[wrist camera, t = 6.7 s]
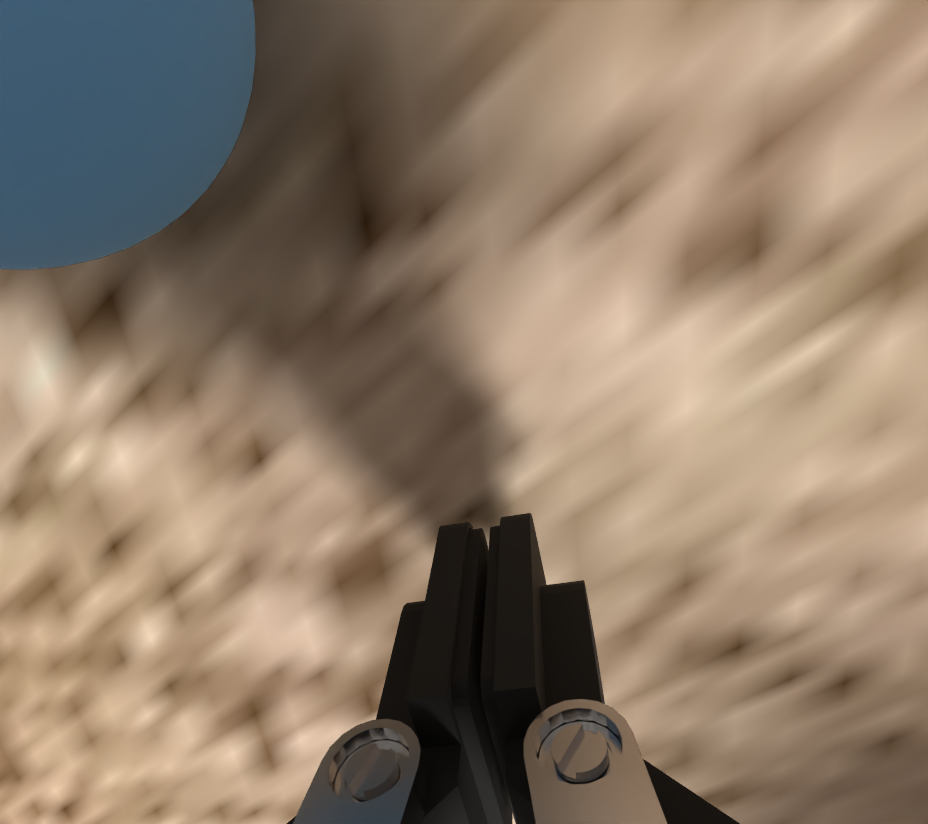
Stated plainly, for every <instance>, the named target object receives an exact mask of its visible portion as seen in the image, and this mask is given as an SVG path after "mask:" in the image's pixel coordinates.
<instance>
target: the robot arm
mask: <svg viewBox="0 0 928 824" xmlns="http://www.w3.org/2000/svg"><path fill="white" fill-rule="evenodd" d="M512 812H513V815H514V819H515V822H516V824H739V823H738V822H736V821H735V820H733V819H732V818H731V817H729V816H728V815H726V814H725V813H723V812H722V811H720V810H719V809H717V808H716V807H714V806H713V805H711V804H710V803H708V802H707V801H705V800H704V799H702V798H701V797H699V796H698V795H696V794H695V793H693V792H692V791H690V790H689V789H687V788H686V787H684V786H683V785H681V784H680V783H678V782H677V781H675V780H674V779H672V778H671V777H669V776H668V775H666V774H665V773H663V772H662V771H660V770H659V769H657V768H656V767H654V766H653V765H651V764H650V763H648V762H647V761H645V760H644V759H643V758H642V755H641V753H640V750H639V747H638V745H637V742H636V739H635V737H634V734H633V732H632V730H631V728H630V726H629V725H628V723H627V721H626V720H625V718H624V717H623V716H621V715H620V714H619V713H618V712H617V711H616V710H614V709H613V708H612V707H609V706H607V705H605V702H604V695H603V689H602V682H601V676H600V669H599V663H598V656H597V650H596V644H595V638H594V632H593V626H592V621H591V615H590V609H589V604H588V598H587V593H586V587H585V582H584V580H583V581H575V582H567V583H560V584H552V585H546V580H545V575H544V571H543V566H542V561H541V556H540V552H539V547H538V542H537V537H536V532H535V528H534V523H533V518H532V515H531V513H527V514H520V515H514V516H507V517H501V521H500V526H494V527H491V528H490V540H489V550H488V546H487V542H486V538H485V534H484V531H483V529H482V528H480V529H473V527H472V525H471V523H470V522H466V523H459V524H452V525H445V526H441V527H440V528H439V532H438V537H437V542H436V548H435V553H434V558H433V563H432V568H431V573H430V578H429V583H428V589H427V594H426V599H425V601H420V602H412V603H406V604H405V605H404V607H403V610H402V613H401V617H400V621H399V625H398V629H397V634H396V638H395V642H394V646H393V650H392V655H391V659H390V663H389V667H388V671H387V676H386V680H385V684H384V688H383V692H382V697H381V701H380V705H379V709H378V713H377V717H376V720H371V721H368V722H365V723H362V724H360V725H357V726H355V727H354V728H352V729H350V730H349V731H347V732H346V733H344V734H343V735H342V736H341V737H340V738H339V739H338V740H337V741H336V742H335V743H334V744H333V745H332V746H331V747H330V748H329V750H328V751H327V753H326V755H325V756H324V758H323V759H322V761H321V763H320V765H319V768H318V770H317V772H316V774H315V776H314V778H313V781H312V783H311V785H310V787H309V789H308V791H307V794H306V796H305V798H304V800H303V802H302V804H301V807H300V809H299V811H298V813H297V815H296V816H295V817H294V818H293V819H292V820H291V821H289V822H288V823H287V824H512Z"/></svg>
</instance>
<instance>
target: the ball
mask: <svg viewBox="0 0 928 824" xmlns="http://www.w3.org/2000/svg"><path fill="white" fill-rule="evenodd" d="M255 57H256V41H255V14H254V7H253V0H0V269H16V270H30V269H42V268H53V267H63V266H67V265H72V264H76V263H81V262H86V261H90V260H95V259H99V258H102V257H105V256H108V255H110V254H113V253H116V252H119V251H121V250H124V249H127V248H130V247H132V246H133V245H135V244H137V243H139V242H141V241H143V240H145V239H147V238H148V237H150V236H152V235H154V234H156V233H158V232H159V231H161V230H162V229H164V228H165V227H166V226H168V225H169V224H170V223H172V222H173V221H174V220H176V219H177V218H178V217H180V216H181V215H182V214H184V213H185V212H186V211H187V210H188V209H189V208H190V207H191V206H192V205H193V204H194V203H195V202H196V201H197V200H198V199H199V198H200V196H201V195H202V194H203V193H204V192H205V191H206V190H207V189H208V188H209V186H210V185H211V184H212V182H213V181H214V179H215V178H216V176H217V175H218V173H219V172H220V170H221V169H222V167H223V166H224V164H225V163H226V161H227V160H228V158H229V156H230V154H231V152H232V150H233V148H234V146H235V144H236V141H237V139H238V137H239V134H240V132H241V129H242V126H243V123H244V119H245V115H246V111H247V108H248V104H249V100H250V97H251V92H252V85H253V76H254V67H255Z"/></svg>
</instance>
